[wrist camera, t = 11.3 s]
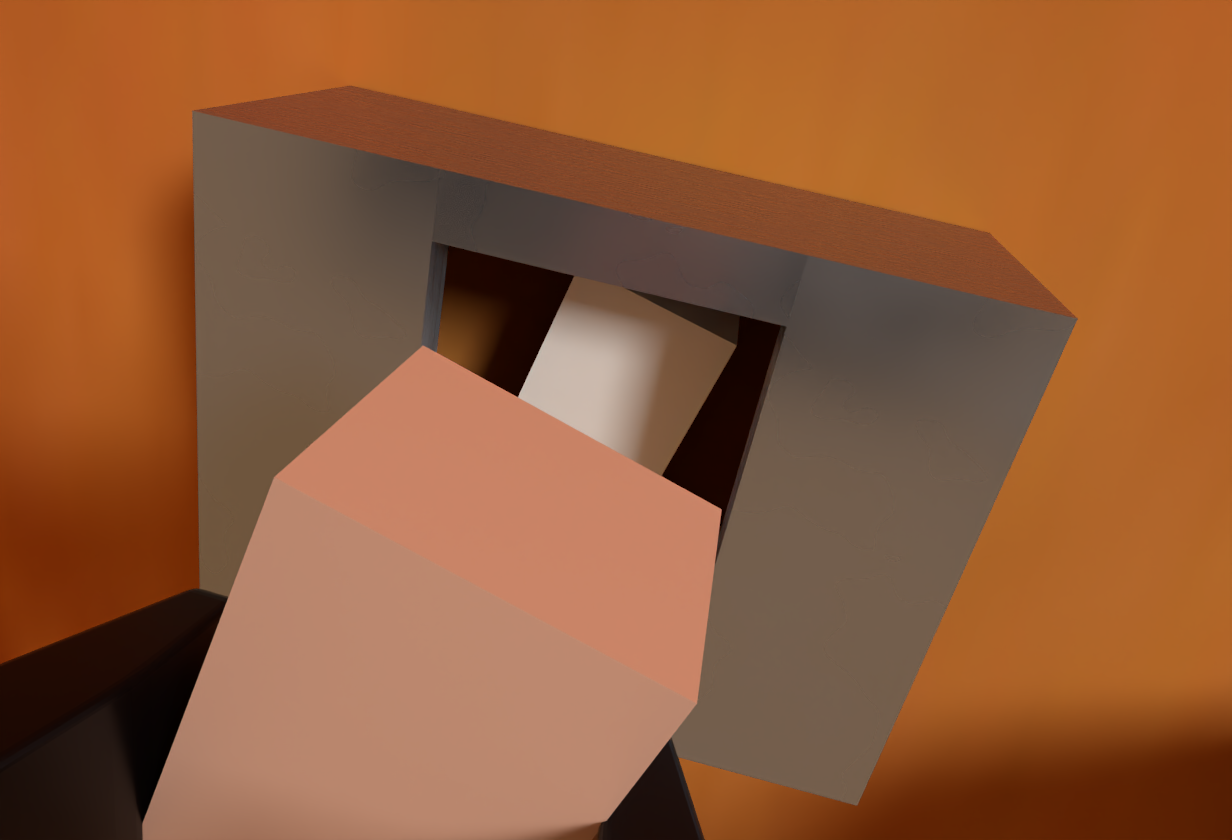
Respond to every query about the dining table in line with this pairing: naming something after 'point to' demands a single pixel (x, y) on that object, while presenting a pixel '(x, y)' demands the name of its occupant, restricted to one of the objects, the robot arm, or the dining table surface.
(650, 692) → the pink rectangular block
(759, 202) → the box
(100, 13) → the dining table surface
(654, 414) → the white rectangular block
